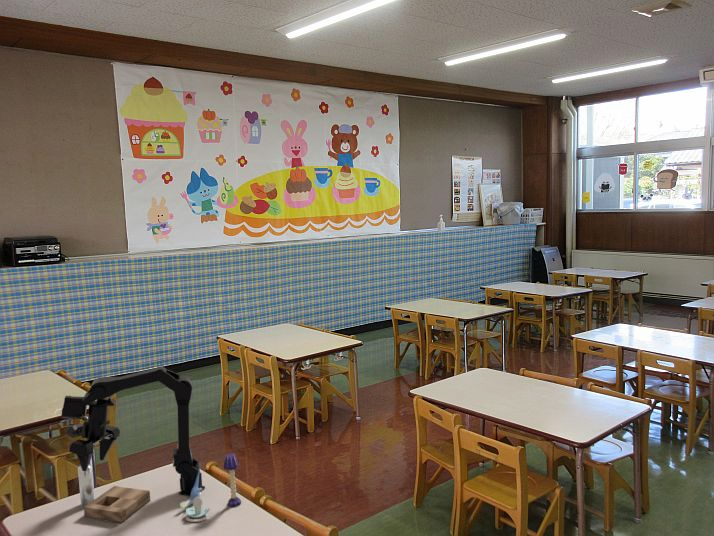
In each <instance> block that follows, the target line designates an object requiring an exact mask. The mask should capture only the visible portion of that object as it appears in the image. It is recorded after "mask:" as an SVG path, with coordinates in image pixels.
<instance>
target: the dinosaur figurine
mask: <svg viewBox="0 0 714 536" xmlns="http://www.w3.org/2000/svg"><path fill="white" fill-rule="evenodd" d="M201 465H202V463H200V462H199V471H198V475H197V478H196V481H195V485H194V487H193V488H192V491H191V496H189V497H190V498H189V499H187V501H186V500H185V501H181V502H180V503H179V505H180V510H181V511H185V512H186V509H187V508H189V507H190V505H193V499H194V498H195V497H200V498H201V495H202V492H203V490H202V488H198V482H199V472H200V473H201ZM200 490H201V492H200Z"/></svg>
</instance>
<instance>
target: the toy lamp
mask: <svg viewBox="0 0 714 536" xmlns="http://www.w3.org/2000/svg"><path fill="white" fill-rule="evenodd" d="M238 467H239V462H238V459H237V456H236V454H235V453H232V452H231V453H227V454H226V455H225V457H224V462H223V468H224V470H225V471H226V470H227V471H228V476H229V485H230V487H229V488H230V494H231V495H230V497H231V498H229V499H228V501H227V506H228V507H231V508H235V507H238V506H240V505H241V504H242V500H241V498H240V497H238V494H237V485H236V476H235V475H236V473H235V470H236V469H237V468H238Z"/></svg>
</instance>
